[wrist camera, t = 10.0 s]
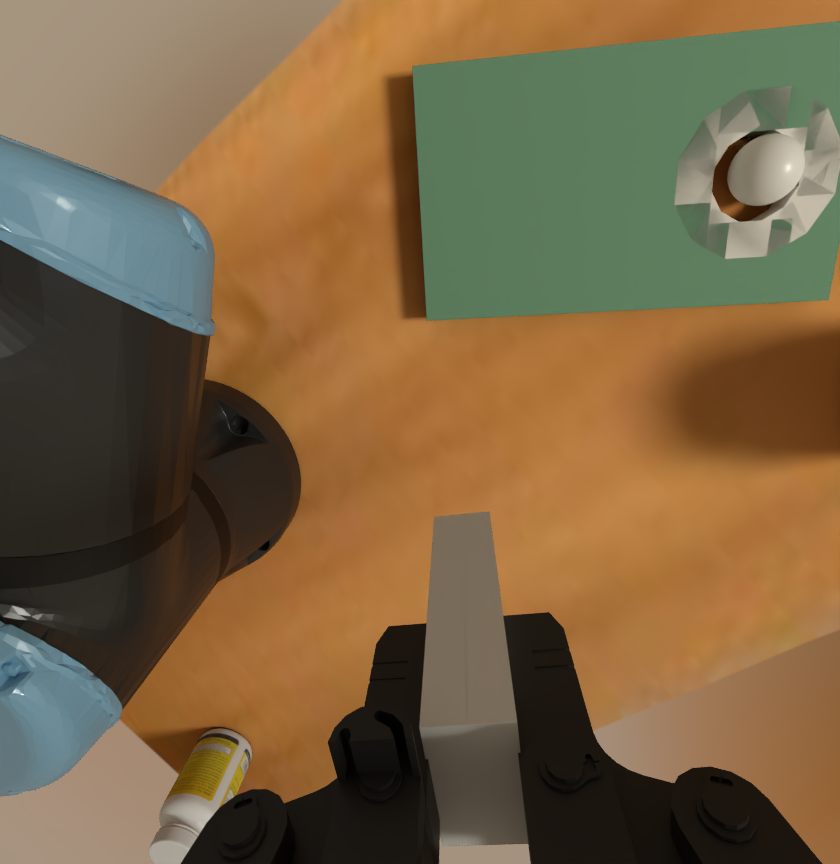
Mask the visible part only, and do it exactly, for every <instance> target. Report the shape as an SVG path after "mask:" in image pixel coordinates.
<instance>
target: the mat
mask: <svg viewBox="0 0 840 864" xmlns="http://www.w3.org/2000/svg"><path fill="white" fill-rule="evenodd" d="M412 71H413V88H414V106H415V123H416V141H417V158H418V176H419V193H420V211H421V228H422V246H423V263H424V281H425V298H426V316H427V321H429V320H448V319H468V318H487V317H507V316H527V315H546V314H566V313H585V312H605V311H624V310H644V309H663V308H683V307H703V306H722V305H742V304H761V303H781V302H800V301H820V300H829V295H830V289H831V284H832V279H833V274H834V268H835V263H836V258H837V252H838V247H839V242H840V21H837V22H827V23H818V24H808V25H799V26H789V27H780V28H770V29H761V30H751V31H742V32H732V33H723V34H713V35H704V36H694V37H685V38H675V39H666V40H656V41H647V42H637V43H628V44H618V45H609V46H599V47H590V48H580V49H570V50H561V51H551V52H542V53H532V54H523V55H513V56H504V57H494V58H485V59H475V60H466V61H456V62H447V63H437V64H428V65H418V66H412ZM774 133H777V134H784V135H788V136H790V137H792V138H794V139H795V140H796V141H797V142H798V143H799V144H800V145H801V147H802V149H803V151H804V155H805V167H804V171H803V174H802V176H801V178H800V180H799V182H798V183H797V185H796V186H795V187H794V188H793V189H792V191H790V192H789V193H788V194H787V195H786V196H784V197H783V198H781V199H780V200H778V201H776V202H774V203H773V204H772V205H771V207H770V208H769V209H768V210H767V211H765V212H763V213H762V214H760V215H758V216H757V217H755V218H753V219H752V220H750V221H745V222H739V221H737V220H735V219H733V218H731V217H730V216H728V215H726V214H724V213H722V212H721V211H720V209H719V206H718V204H717V202H716V200H715V198H714V196H713V193H712V187H713V178H714V169H715V167H716V165H717V164H718V162H719V160H720V159H721V157H722V156H723V154H724V153H725V151H726V149H727V148H728V146H729V145H731V144H733V143H734V142H736V141H737V140H739V139H740V138H742V137H748V136H763V135H766V134H774Z"/></svg>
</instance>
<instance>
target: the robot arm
mask: <svg viewBox="0 0 840 864" xmlns="http://www.w3.org/2000/svg"><path fill="white" fill-rule="evenodd" d="M214 261H215V255H214V247H213V243H212V240H211V237H210V235H209V233H208V231H207V229H206V227H205V226H204V225H203V223H202V222H201V221H200V220H199V218H198V217H197V216H196V215H195V214H194V213H192V212H191V211H190V210H188V209H187V208H186V207H184V206H182V205H180V204H178V203H176V202H174V201H172V200H170V199H168V198H165V197H163V196H160V195H158V194H155V193H153V192H150V191H148V190H145V189H143V188H140V187H137V186H135V185H132V184H129V183H127V182H125V181H122V180H119V179H117V178H114V177H111V176H109V175H106V174H104V173H101V172H98V171H96V170H93V169H90V168H88V167H85V166H82V165H79V164H77V163H74V162H71V161H69V160H66V159H63V158H61V157H58V156H56V155H53V154H50V153H48V152H45V151H43V150H40V149H37V148H35V147H32V146H29V145H26V144H24V143H21V142H18V141H16V140H13V139H10V138H8V137H5V136H2V135H0V796H10V795H17V794H20V793H23V792H25V791H31V790H36V789H38V788H41V787H44V786H46V785H49V784H51V783H53V782H54V781H56V780H58V779H59V778H61V777H62V776H64V775H65V774H66V773H68V772H69V771H70V770H71V769H72V768H73V767H74V766H75V765H76V764H77V763H78V762H79V761H80V760H81V758H82V757H83V756H84V755H85V754H86V753H87V752H88V751H89V749H90V748H91V747H92V746H93V745H94V744H95V742H96V741H97V740H98V739H99V738H100V737H101V736H102V735H103V734H104V733H105V732H106V730H108V729H109V728H111V727H113V725H114V724H115V723H116V722H117V721H118V720H119V719H120V717H121V711H122V710H123V708H124V707H125V706H126V704H127V703H128V702H129V700H130V699H131V698H132V696H133V695H134V694H135V692H136V691H137V690H138V688H139V687H140V686H141V684H142V683H143V682H144V680H145V679H146V678H147V676H148V675H149V674H150V672H151V671H152V669H153V668H154V667H155V665H156V664H157V663H158V661H159V660H160V659H161V657H162V656H163V655H164V653H165V652H166V651H167V649H168V648H169V647H170V645H171V644H172V643H173V641H174V640H175V639H176V637H177V636H178V635H179V633H180V632H181V631H182V629H183V628H184V627H185V625H186V624H187V623H188V621H189V620H190V619H191V617H192V616H193V615H194V613H195V612H196V610H197V609H198V608H199V606H200V605H201V604H202V602H203V601H204V600H205V598H206V597H207V596H208V594H209V593H210V592H211V590H212V589H213V588H214V586H215V585H216V584H217V582H219V581H220V580H222V579H224V578H226V577H228V576H229V575H231V574H233V573H235V572H236V571H238V570H240V569H242V568H244V567H246V566H247V565H249V564H251V563H253V562H254V561H256V560H258V559H259V558H261V557H262V556H263V555H265V554H266V553H267V552H268V551H269V550H270V549H271V548H272V547H273V546H274V545H275V544H276V543H277V542H278V540H279V539H280V538H281V536H282V535H283V533H284V532H285V530H286V529H287V527H288V526H289V524H290V523H291V521H292V519H293V517H294V515H295V513H296V510H297V507H298V504H299V499H300V492H301V476H300V469H299V464H298V460H297V457H296V454H295V451H294V449H293V446H292V444H291V442H290V440H289V438H288V437H287V435H286V433H285V432H284V430H283V429H282V427H281V426H280V425H279V423H278V422H277V421H276V420H275V419H274V417H273V416H272V415H271V414H270V413H269V412H268V411H267V410H266V409H265V408H263V407H262V406H261V405H260V404H259V403H257V402H256V401H255V400H253V399H252V398H250V397H249V396H247V395H245V394H244V393H242V392H240V391H238V390H236V389H234V388H232V387H229V386H227V385H224V384H221V383H218V382H214V381H209V380H204V378H205V371H206V363H207V356H208V348H209V341H210V336H213V335H214V332H215V323H214V322H213V320H212V319H211V314H212V289H213V275H214ZM328 745H329V748H330V752H331V756H332V759H333V763H334V767H335V770H336V774H337V779H335V780H334V781H333V782H331V783H330V784H329V785H327V786H326V787H324V788H322V789H320V790H318V791H316V792H313V793H311V794H308V795H305V796H303V797H300V798H297V799H295V800H292V801H290V802H287V803H283V801H282V799H281V798H280V796H279V795H277V794H275V793H273V792H271V791H269V790H267V789H252V790H249V791H247V792H244V793H241V794H239V795H236V796H234V797H233V798H232V799H230V800H229V801H227V802H226V803H225V804H223V805H222V806H221V807H219V809H218V810H217V811H216V812H215V813H214V815H213V816H212V817H211V818H210V819H209V821H208V822H207V823H206V825H205V826H204V828H203V829H202V831H201V832H200V834H199V835H198V837H197V839H196V840H195V842H194V843H193V845H192V846H191V848H190V850H189V851H188V853H187V854H186V856H185V857H184V859H183V861H182V862H181V864H439V840H440V837H441V842H442V846H469V845H501V844H529V853H530V861H531V864H822V863H821V862H820V860H819V859H818V858H817V857H816V856H815V854H814V853H813V852H812V851H811V850H810V848H809V847H808V846H807V845H806V844H805V842H804V841H803V840H802V839H801V838H800V836H799V835H798V834H797V833H796V832H795V830H794V829H793V828H792V827H791V825H790V824H789V823H788V822H787V821H786V819H785V818H784V817H783V816H782V815H781V813H780V812H779V811H778V810H777V809H776V807H775V806H774V805H773V804H772V803H771V801H770V800H769V799H768V798H767V797H766V796H765V795H764V794H762V793H761V792H760V791H759V790H758V789H757V788H756V787H755V786H754V785H753V784H752V783H750V782H748V781H746V780H745V779H743V778H741V777H739V776H738V775H736V774H734V773H732V772H730V771H726V770H721V769H718V768H714V767H700V768H692V769H690V770H688V771H686V772H685V773H683V774H681V775H679V776H678V778H677V780H676V782H675V783H670V782H666V781H663V780H659V779H655V778H651V777H647V776H643V775H641V774H638V773H635V772H633V771H630V770H628V769H626V768H625V767H623V766H621V765H620V764H618V763H616V762H615V761H614V760H613V759H612V758H611V757H610V756H608V755H607V754H606V753H605V752H604V750H603V749H602V748H601V746H600V745H599V743H598V742H597V740H596V737H595V735H594V733H593V730H592V727H591V723H590V720H589V716H588V713H587V709H586V706H585V702H584V699H583V695H582V692H581V688H580V684H579V681H578V677H577V674H576V670H575V669H574V663H573V660H572V656H571V653H570V651H569V646H568V642H567V639H566V635H565V632H564V628H563V627H562V626H561V625H560V624H559V623H558V622H557V621H556V620H555V618H554V617H553V616H552V615H551V614H550V613H549V612H548V613H535V614H522V615H509V616H503V611H502V603H501V595H500V588H499V580H498V573H497V565H496V558H495V550H494V543H493V535H492V527H491V520H490V512H480V513H470V514H460V515H450V516H439V517H434V527H433V541H432V556H431V570H430V584H429V598H428V612H427V623H426V624H413V625H400V626H389V627H388V628H387V630H386V631H385V632H384V634H383V635H382V637H381V638H380V640H379V641H378V642H377V644H376V649H375V654H374V659H373V667H372V670H371V675H370V684H369V685H368V690H367V696H366V701H365V706H364V707H361V708H359V709H357V710H355V711H354V712H352V713H350V714H348V715H347V716H345V717H344V718H343V719H342V721H341V722H340V723H339V724H338V725H337V726H336V727H335V728H334V730H333V732H332V735H331V737H330V739H329V741H328Z"/></svg>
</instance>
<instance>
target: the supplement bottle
mask: <svg viewBox="0 0 840 864" xmlns="http://www.w3.org/2000/svg"><path fill="white" fill-rule="evenodd" d="M251 758H252V750H251V747H250V745H249V743H248V742H247V740H246V739H245V738H244V737H242V736H241V735H240V734H238V733H236V732H234V731H232V730H228V729H223V728H218V729H212V730H209V731H207V732H206V733H204V734H203V735H202V736H201V737H200V739H199V740H198V742H197V744H196V746H195V747H194V749H193V751H192V753H191V755H190V756H189V758H188V760H187V762H186V764H185V766H184V767H183V769H182V771H181V773H180V775H179V776H178V778H177V780H176V782H175V784H174V785H173V787H172V789H171V791H170V793H169V795H168V796H167V798H166V800H165V802H164V804H163V806H162V808H161V811H160V817H159V819H160V825H161V828H160V829H159V831H158V832H157V833H156V835H155V838H154V840H153V842H152V843H151V845H150V848H149V856H150V858H151V860H152V861H153V862H154V864H181V862H182V861H183V859H184V857H185V856H186V854H187V853H188V851H189V850H190V848H191V846H192V845H193V843H194V842H195V840H196V839H197V837H198V835H199V834H200V832H201V831H202V829H203V828H204V826H205V825H206V823H207V822H208V821H209V819H210V818H211V817H212V816H213V815H214V813H215V812H216V811H217V810H218V809H219V807H221V806H222V805H223V804H225V803H226V802H227V801H229V800H230V799H232V798H233V797H234V796H236V794H237V792H238V789H239V787H240V785H241V782H242V780H243V778H244V776H245V773H246V771H247V768H248V766H249V764H250V761H251Z"/></svg>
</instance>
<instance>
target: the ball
mask: <svg viewBox="0 0 840 864" xmlns="http://www.w3.org/2000/svg"><path fill="white" fill-rule="evenodd" d="M804 167H805V155H804V151H803V149H802V147H801V145H800V144H799V143H798V142H797V141H796V140H795V139H794V138H792V137H790V136H788V135H784V134H777V133H774V134H766V135H763V136H760V137H757V138H755V139H753V140H752V141H750V142H748V143H747V144H746V145H744V146H743V147H742V148H741V149H740V150H739V151H738V153H737V154H736V155H735V157H734V158H733V160H732V162H731V164H730V166H729V170H728V175H727V182H728V187H729V190H730V192H731V194H732V195H733V196H734V197H735V198H736V199H737V200H738V201H740V202H741V203H744V204H746V205H751V206H762V205H767V204H771V203H774V202H776V201H778V200H780V199H781V198H783V197H784V196H786V195H787V194H788V193H789V192H790V191H792V189H793V188H794V187H795V186H796V185H797V183H798V182H799V180H800V178H801V176H802V174H803V171H804Z"/></svg>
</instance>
